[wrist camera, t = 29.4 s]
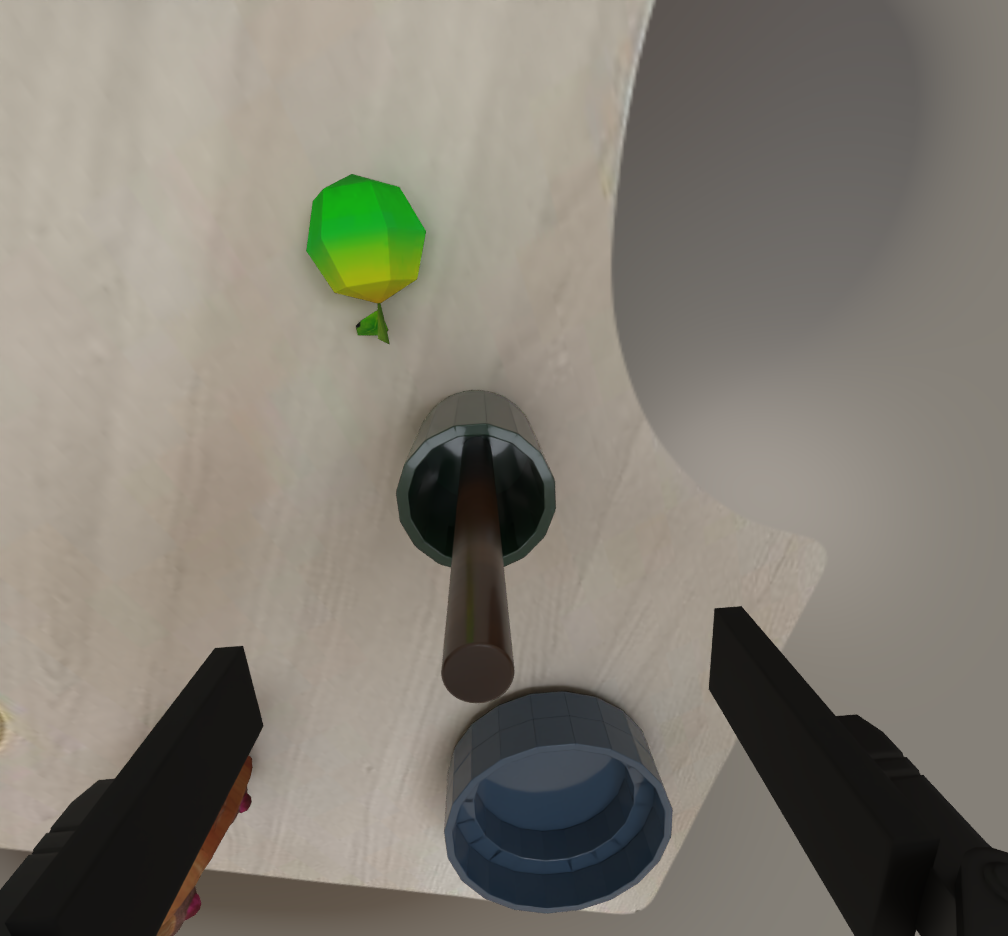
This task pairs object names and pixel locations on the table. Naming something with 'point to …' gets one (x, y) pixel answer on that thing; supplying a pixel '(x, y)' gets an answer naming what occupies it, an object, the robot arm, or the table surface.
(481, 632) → the stick
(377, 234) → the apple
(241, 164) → the table surface
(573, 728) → the bowl
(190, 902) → the mug
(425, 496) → the holder
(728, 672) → the robot arm
